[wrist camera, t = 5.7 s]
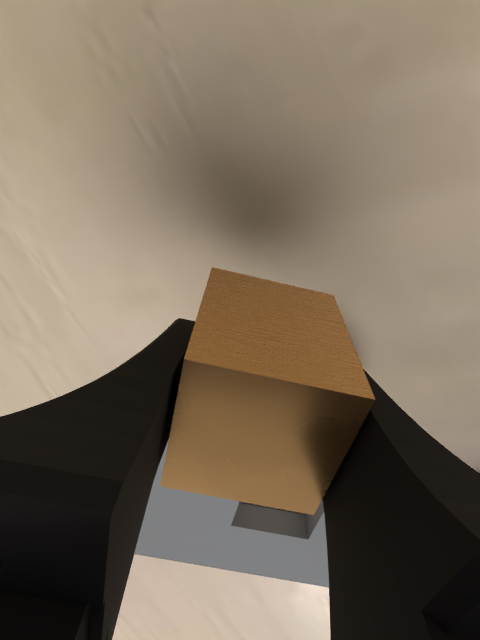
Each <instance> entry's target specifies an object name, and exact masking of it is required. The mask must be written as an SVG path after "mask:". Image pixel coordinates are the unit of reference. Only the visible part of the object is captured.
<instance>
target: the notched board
mask: <svg viewBox="0 0 480 640" xmlns="http://www.w3.org/2000/svg"><path fill="white" fill-rule="evenodd" d="M168 442H169V440H168ZM168 442H167V445H166V448H165V450H164V453H163V456H162V458H161V461H160V464H159V466H158V469H157V472H156V476H155V479H154V482H153V485H152V489H151V493H150V496H149V500H148V504H147V507H146V511H145V515H144V519H143V522H142V526H141V530H140V534H139V537H138V541H137V545H136V549H135V552H134V554H137V555H143V556H149V557H155V558H161V559H166V560H172V561H178V562H184V563H190V564H196V565H201V566H207V567H213V568H219V569H225V570H230V571H236V572H242V573H248V574H254V575H260V576H265V577H271V578H277V579H283V580H289V581H295V582H300V583H306V584H312V585H318V586H324V587H329V574H328V556H327V541H326V528H325V515H324V507H323V500H321V502H320V504H319V506H318V508H317V510H316V512H315V513H314V515H311V514H306V515H305V514H299V513H294V512H288V511H283V510H277V509H272V508H267V507H261V506H256V505H250V504H245V503H240V501H236V500H231V499H225V498H220V497H214V496H209V495H204V494H198V493H193V492H188V491H182V490H177V489H172V488H166V487H161V486H160V484H161V479H162V474H163V468H164V463H165V458H166V452H167V447H168Z"/></svg>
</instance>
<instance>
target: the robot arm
mask: <svg viewBox="0 0 480 640" xmlns="http://www.w3.org/2000/svg"><path fill="white" fill-rule="evenodd" d="M194 325H195V321H190V320H186V319H181V318H179V319H177V320H175V321H174V322H173V323H172V324H171V325H170V327H168V328H167V329H166V330H165V331H164V332H163V333H162V334H161V335H160V336H159V337H158V338H156V339H155V340H154V341H153V342H152V343H150V344H149V345H148V346H147V347H145V348H144V349H143V350H142V351H140V352H139V353H138V354H136V355H135V356H133V357H132V358H131V359H129V360H128V361H126V362H125V363H123V364H122V365H120V366H119V367H117V368H116V369H114V370H112V371H111V372H109V373H107V374H106V375H104V376H102V377H100V378H99V379H97V380H95V381H93V382H91V383H89V384H87V385H85V386H83V387H80V388H78V389H76V390H74V391H72V392H69V393H67V394H65V395H63V396H60V397H58V398H55V399H53V400H50V401H47V402H45V403H42V404H39V405H36V406H33V407H31V408H28V409H25V410H22V411H19V412H15V413H12V414H9V415H5V416H2V417H0V640H112V637H113V633H114V629H115V625H116V621H117V618H118V614H119V610H120V606H121V602H122V598H123V594H124V591H125V587H126V583H127V579H128V575H129V572H130V568H131V564H132V560H133V556H134V552H135V549H136V545H137V541H138V537H139V534H140V530H141V526H142V522H143V519H144V515H145V511H146V507H147V504H148V500H149V496H150V493H151V489H152V485H153V482H154V479H155V476H156V472H157V469H158V466H159V464H160V461H161V458H162V456H163V453H164V450H165V448H166V445H167V442H168V440H169V436H170V431H171V426H172V420H173V415H174V410H175V404H176V399H177V394H178V388H179V383H180V378H181V372H182V367H183V362H184V357H185V354H186V351H187V348H188V344H189V341H190V338H191V335H192V331H193V328H194ZM363 370H364V369H363ZM364 373H365V375H366V378H367V380H368V383H369V385H370V387H371V390H372V392H373V395H374V397H375V401H374V403H373V405H372V407H371V409H370V411H369V413H368V415H367V416H366V418H365V420H364V422H363V424H362V426H361V428H360V429H359V431H358V433H357V435H356V437H355V439H354V441H353V443H352V444H351V446H350V448H349V450H348V452H347V454H346V456H345V457H344V459H343V461H342V463H341V465H340V467H339V469H338V471H337V472H336V474H335V476H334V478H333V480H332V482H331V484H330V485H329V487H328V489H327V491H326V493H325V495H324V497H323V499H322V500H323V507H324V515H325V528H326V541H327V556H328V574H329V597H330V629H331V640H480V473H478V472H477V471H475V470H474V469H473V468H471V467H470V466H468V465H467V464H466V463H464V462H463V461H462V460H460V459H459V458H458V457H456V456H455V455H454V454H452V453H451V452H450V451H449V450H448V449H446V448H445V447H444V446H443V445H441V444H440V443H439V442H438V441H437V440H435V439H434V438H433V437H432V436H430V435H429V434H428V433H427V432H426V431H425V430H424V429H422V428H421V427H420V426H419V425H418V424H417V423H416V422H415V421H414V420H413V419H412V418H411V417H410V416H408V415H407V414H406V413H405V412H404V411H403V410H402V409H401V408H400V407H399V406H398V405H397V404H396V403H395V402H394V401H393V400H392V399H391V398H390V397H389V396H388V395H387V394H386V393H385V392H384V391H383V389H382V388H381V387H380V386H379V385H378V384H377V383H376V382H375V381H374V380H373V379H372V378H371V377H370V376H369V375H368V374H367V372H366V371H365V370H364Z"/></svg>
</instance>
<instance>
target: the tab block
mask: <svg viewBox="0 0 480 640" xmlns="http://www.w3.org/2000/svg"><path fill="white" fill-rule="evenodd" d="M374 401H375V397H374V395H373V392H372V390H371V387H370V385H369V383H368V380H367V378H366V375H365V373H364V370H363V368H362V365H361V363H360V360H359V358H358V355H357V353H356V350H355V348H354V345H353V343H352V340H351V338H350V335H349V333H348V330H347V328H346V325H345V323H344V320H343V318H342V315H341V313H340V310H339V308H338V305H337V303H336V300H335V298H334V295H330V294H326V293H321V292H317V291H313V290H308V289H304V288H300V287H295V286H291V285H287V284H282V283H278V282H273V281H269V280H265V279H260V278H256V277H252V276H247V275H243V274H239V273H234V272H230V271H226V270H221V269H217V268H213V267H212V269H211V272H210V276H209V279H208V282H207V285H206V289H205V292H204V295H203V299H202V302H201V305H200V308H199V312H198V315H197V318H196V321H195V325H194V328H193V331H192V335H191V338H190V341H189V344H188V348H187V351H186V354H185V357H184V362H183V367H182V372H181V378H180V383H179V388H178V394H177V399H176V404H175V410H174V415H173V420H172V426H171V431H170V436H169V442H168V447H167V452H166V458H165V463H164V468H163V474H162V479H161V484H160V486H161V487H166V488H172V489H177V490H182V491H188V492H193V493H198V494H204V495H209V496H214V497H220V498H225V499H231V500H236V501H241V502H247V503H252V504H257V505H263V506H268V507H273V508H279V509H284V510H289V511H295V512H300V513H305V514H311V515H314V513H315V512H316V510H317V508H318V506H319V504H320V502H321V500H322V499H323V497H324V495H325V493H326V491H327V489H328V487H329V485H330V484H331V482H332V480H333V478H334V476H335V474H336V472H337V471H338V469H339V467H340V465H341V463H342V461H343V459H344V457H345V456H346V454H347V452H348V450H349V448H350V446H351V444H352V443H353V441H354V439H355V437H356V435H357V433H358V431H359V429H360V428H361V426H362V424H363V422H364V420H365V418H366V416H367V415H368V413H369V411H370V409H371V407H372V405H373V403H374Z"/></svg>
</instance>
